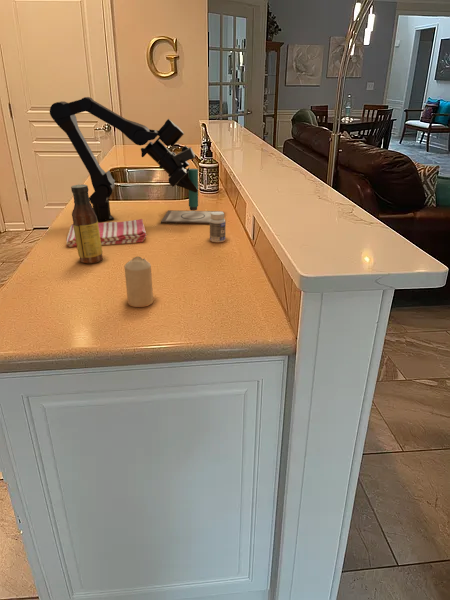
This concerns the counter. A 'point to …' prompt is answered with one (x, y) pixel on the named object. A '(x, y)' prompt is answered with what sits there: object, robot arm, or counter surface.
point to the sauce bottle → (85, 226)
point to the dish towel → (115, 233)
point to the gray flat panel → (187, 217)
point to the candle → (139, 282)
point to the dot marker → (192, 195)
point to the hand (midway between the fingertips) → (197, 190)
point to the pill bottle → (217, 227)
